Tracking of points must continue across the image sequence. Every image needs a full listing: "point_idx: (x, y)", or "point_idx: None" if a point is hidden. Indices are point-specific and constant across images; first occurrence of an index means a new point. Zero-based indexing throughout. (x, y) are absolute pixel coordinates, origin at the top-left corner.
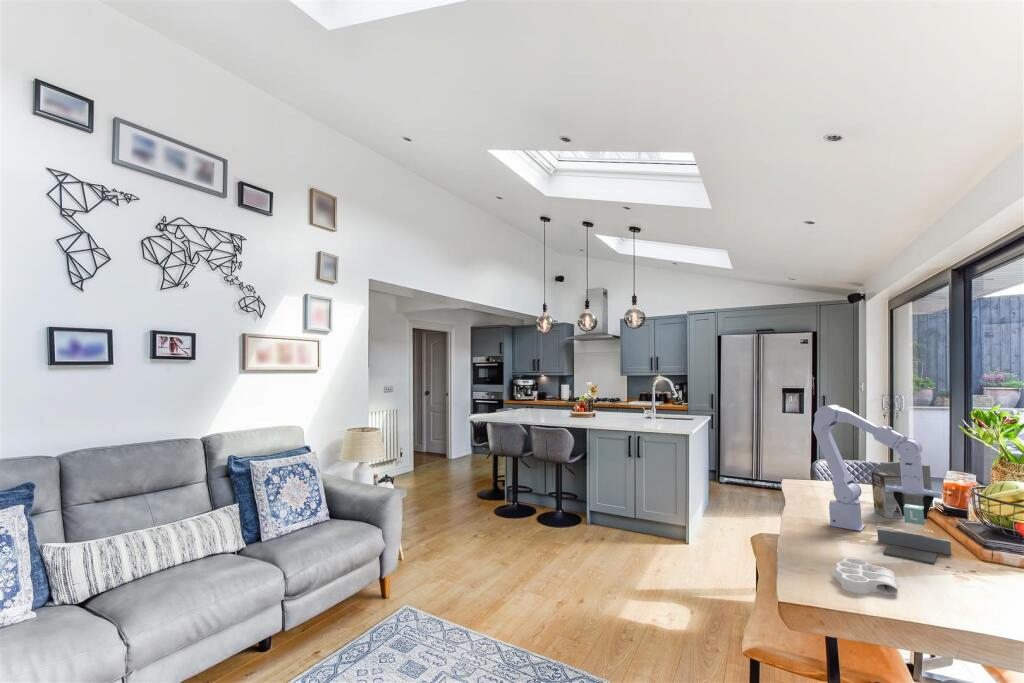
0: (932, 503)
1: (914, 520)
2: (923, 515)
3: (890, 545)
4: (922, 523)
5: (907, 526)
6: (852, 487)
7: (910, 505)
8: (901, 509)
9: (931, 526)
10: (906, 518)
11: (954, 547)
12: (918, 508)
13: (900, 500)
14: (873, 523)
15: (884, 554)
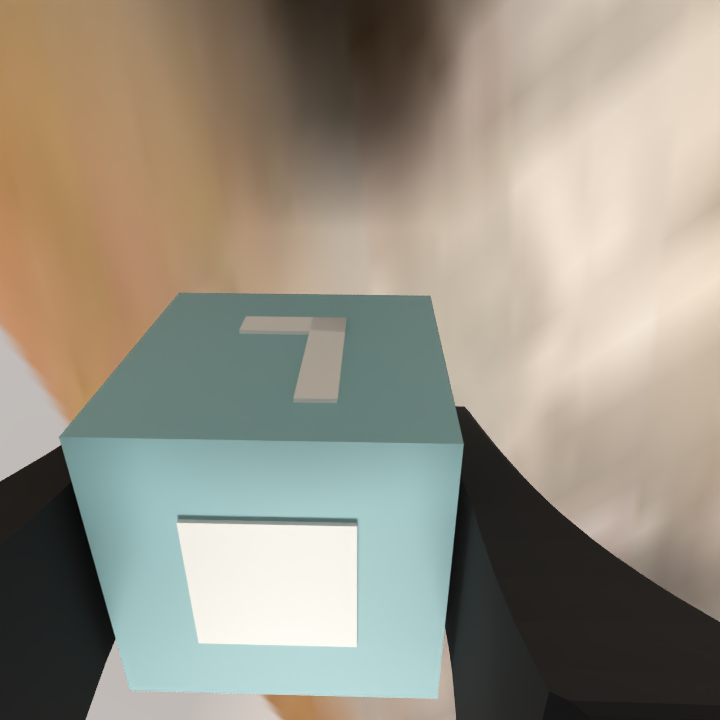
0: None
1: (291, 316)
2: (121, 379)
3: None
4: (191, 300)
5: None
6: None
7: (343, 631)
8: (495, 460)
9: (291, 704)
10: (405, 325)
11: (20, 267)
12: (164, 494)
13: (560, 601)
14: (676, 580)
15: None
